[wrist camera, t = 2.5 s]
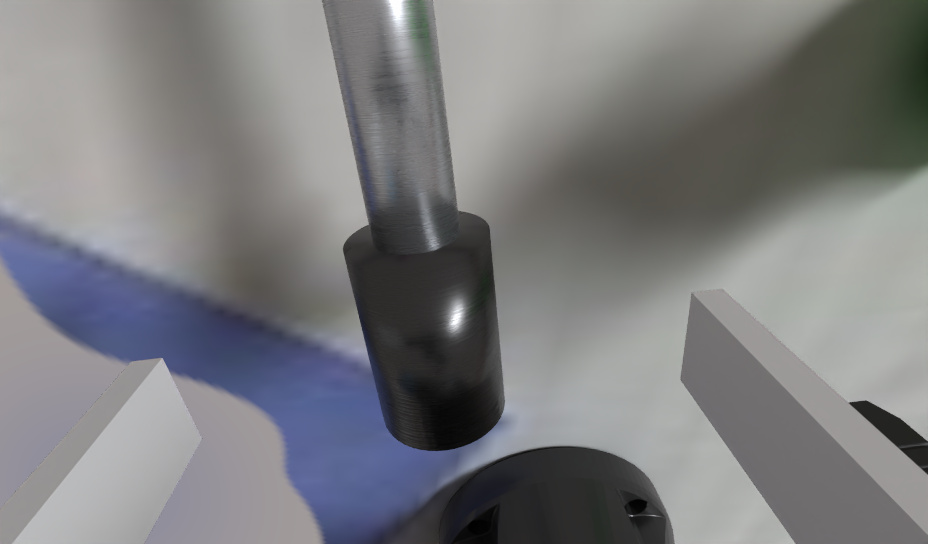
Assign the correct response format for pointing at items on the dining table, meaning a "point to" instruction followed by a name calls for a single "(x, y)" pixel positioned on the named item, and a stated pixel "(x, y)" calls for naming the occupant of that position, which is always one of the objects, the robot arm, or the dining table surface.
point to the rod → (415, 232)
